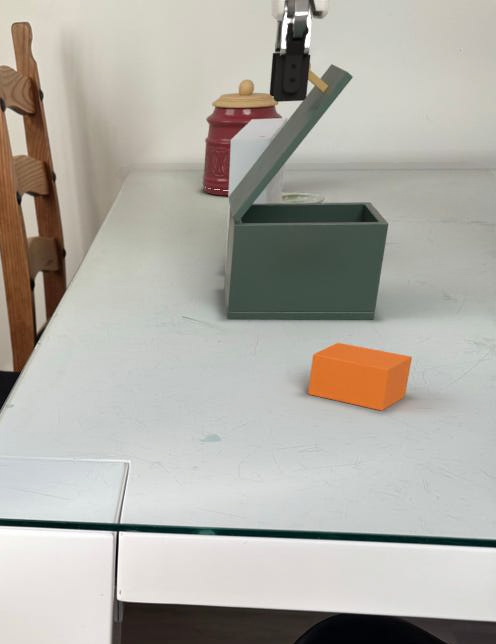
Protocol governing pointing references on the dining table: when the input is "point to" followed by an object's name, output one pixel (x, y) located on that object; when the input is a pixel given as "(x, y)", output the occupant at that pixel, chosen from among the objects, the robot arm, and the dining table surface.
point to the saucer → (301, 198)
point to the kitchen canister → (231, 131)
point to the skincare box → (254, 158)
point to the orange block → (359, 375)
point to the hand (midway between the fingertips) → (287, 96)
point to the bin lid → (288, 138)
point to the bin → (305, 261)
